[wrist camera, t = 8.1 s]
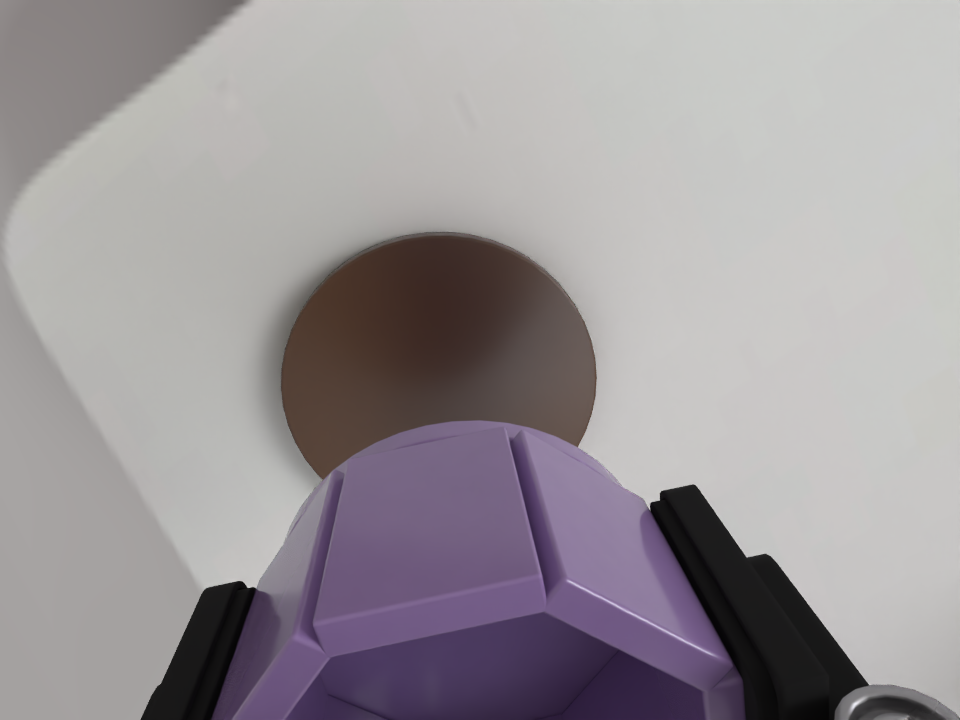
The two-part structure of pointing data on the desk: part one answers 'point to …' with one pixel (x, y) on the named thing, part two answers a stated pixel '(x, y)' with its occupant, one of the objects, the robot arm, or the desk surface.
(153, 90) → the desk surface
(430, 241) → the coaster
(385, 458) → the dish lilac
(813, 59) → the desk surface
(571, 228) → the desk surface
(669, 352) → the desk surface
